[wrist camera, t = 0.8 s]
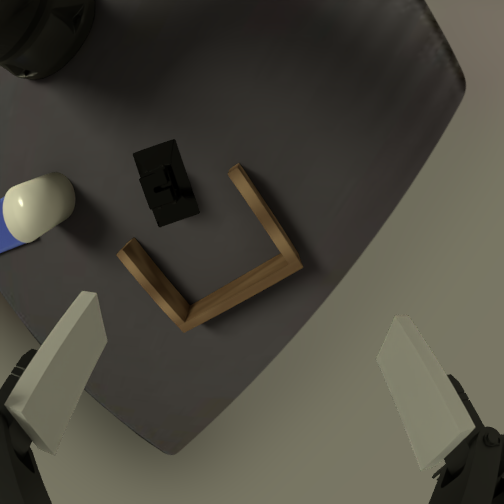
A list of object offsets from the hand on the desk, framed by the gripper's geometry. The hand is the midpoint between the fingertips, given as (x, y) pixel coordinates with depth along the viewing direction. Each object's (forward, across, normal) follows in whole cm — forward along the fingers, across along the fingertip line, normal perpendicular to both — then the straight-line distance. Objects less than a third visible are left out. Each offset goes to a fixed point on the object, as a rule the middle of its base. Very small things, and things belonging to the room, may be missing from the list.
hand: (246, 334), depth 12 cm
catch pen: (+24, -4, -7) cm, 26 cm away
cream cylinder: (+25, -26, -2) cm, 36 cm away
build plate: (+25, -10, 0) cm, 27 cm away
